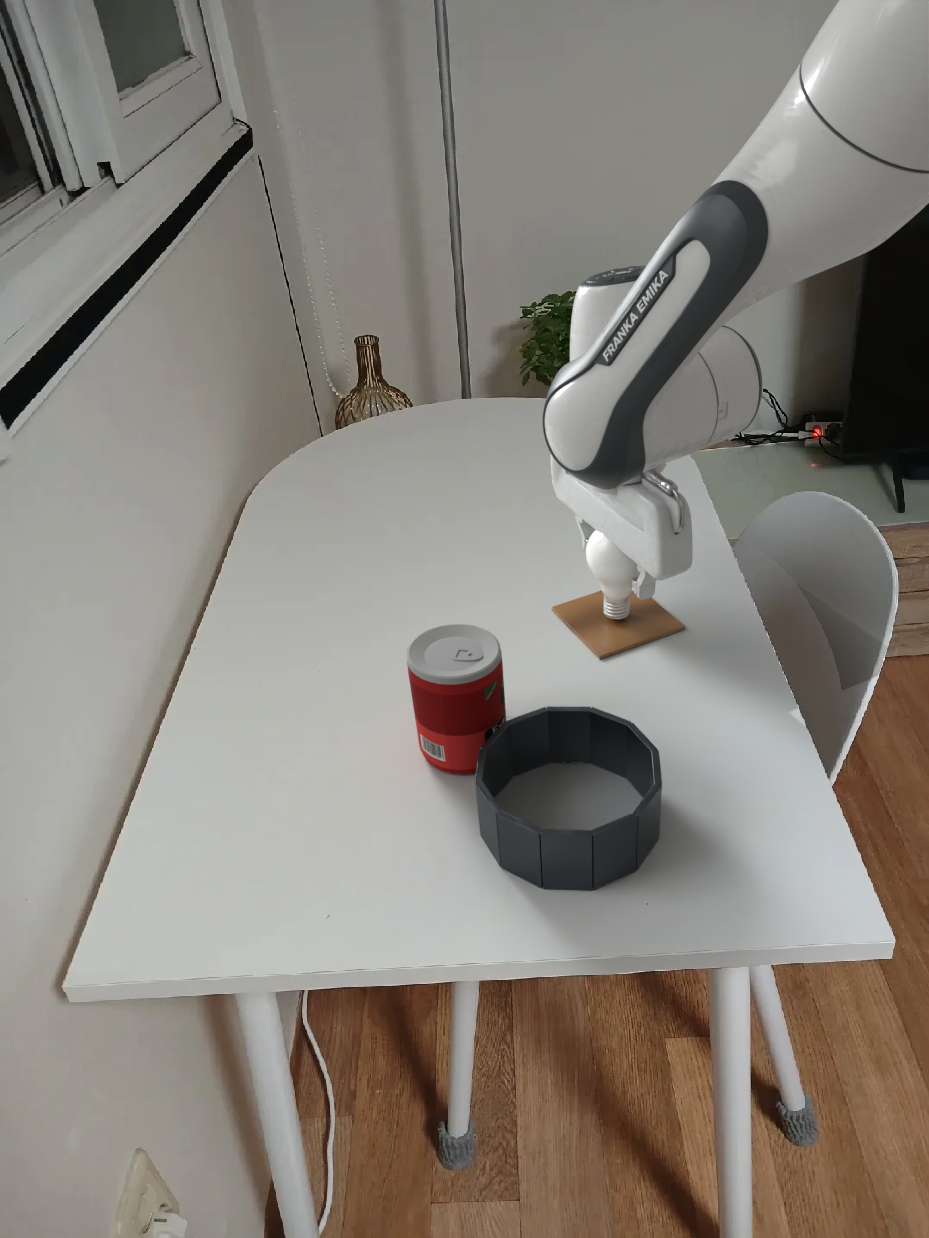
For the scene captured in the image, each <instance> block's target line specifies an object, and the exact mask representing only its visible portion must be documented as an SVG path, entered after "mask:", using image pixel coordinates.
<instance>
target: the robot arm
mask: <svg viewBox="0 0 929 1238" xmlns="http://www.w3.org/2000/svg"><path fill="white" fill-rule="evenodd" d="M927 205H929V0H838V1H837V3H836V4H835V6H834V7H833V9H832V10H831V12H830V13H829V15H828V17H827V18H826V19H825V21H824V22H823V24H822V25H821V27H820V29H819V30H818V32H817V34H816V35H815V37H814V38H813V40H812V42H811V44H810V45H809V47H808V48H807V50H806V51H805V54H804V56H803V57H802V59H801V61H800V62H799V64H798V66H797V68H796V69H795V71H794V72H793V74H792V75H791V76H790V79H789V81H788V82H787V84H786V85H785V86H784V88H783V89H782V91H781V93H780V94H779V96H778V98H777V99H776V100H775V102H774V103H773V104H772V106H771V107H770V109H769V110H768V112H767V113H766V115H765V116H764V117H763V118H762V120H761V121H760V123H759V125H758V126H757V127H756V129H754V131H753V133H752V134H751V135H750V137H749V138H748V139H747V141H746V142H745V143H744V145H743V146H742V148H740V150H739V151H738V152H737V154H736V155H735V156H734V158H732V160H731V161H730V162H729V163H728V164H727V166H726V167H725V168H724V169H723V171H722V172H721V173H720V174H719V175H718V176H717V177H716V178H715V180H714V181H713V182H712V183H711V184H710V185H709V186H708V188H706V190H705V191H704V192H703V193H702V194H701V195H700V196H699V197H698V199H697V200H696V201H695V202H694V203H693V204H692V205H691V207H689V209H688V210H687V211H686V213H685V214H684V215H683V216H682V217H681V218H680V219H679V220H678V221H677V222H676V224H675V226H673V228H672V229H671V230H670V232H669V233H668V235H667V236H666V237H665V239H664V240H663V242H662V243H661V244H660V246H659V247H658V248H657V249H656V251H655V253H654V254H653V256H652V257H651V258H650V260H649V261H648V263H647V264H646V265H632V266H627V267H621V268H615V269H614V268H613V269H611V270H606V271H602V272H600V273H595V274H593V275H592V276H589V277H587V278H586V279H585V280H584V281H583V282H581V283H580V284H579V285H578V287H577V290H576V293H575V296H574V300H573V304H572V312H571V319H570V331H569V362H567V363H566V364H564V365H562V366H561V368H560V369H559V370H558V371H557V372H556V374H555V376H554V378H553V380H552V382H551V384H550V387H549V389H548V391H547V395H546V398H545V401H544V407H543V411H542V432H543V437H544V440H545V443H546V446H547V449H548V451H549V453H550V474H551V483H552V488H553V490H554V493H555V495H556V498H557V500H558V501H560V502H561V503H562V504H564V505H565V506H566V507H567V508H569V509H570V510H571V511H572V512H573V513H574V514H575V521H576V524H577V527H578V529H579V533H580V536H581V541H582V543H581V544H582V545H581V546H582V547H581V548H582V550H583V551H584V552H585V553H586V546H587V543H588V540H589V538H590V536H591V535H592V533H593V532H594V531H595V530H596V531H599V532H601V533H602V534H603V535H604V536H605V537H606V538H607V539H608V540H609V541H610V542H611V543H612V544H613V545H614V546H616V547H617V548H618V549H619V550H620V551H622V552H623V553H624V554H625V555H627V556H628V557H629V558H630V559H631V560H633V561H634V562H635V563H636V564H637V570H638V571H639V572H641V573H640V575H639V577H636V578H633V579H632V582H631V585H632V588H631V591H632V593H633V594H635V595H636V596H637V597H638V598H639V599H640V600H644V599H647V598H650V597H651V598H653V597H654V595H655V593H656V582H657V581H663V580H667V579H671V578H673V577H676V576H679V575H682V574H684V573H686V572H687V571H688V570H689V569H690V568H691V566H692V564H693V555H694V552H693V544H694V543H693V525H692V513H691V510H690V509H691V508H690V506H689V502H688V501H687V499H686V498H685V497H684V495H682V494H681V493H680V492H679V491H678V490H679V486H678V484H676V483H675V482H674V481H673V480H671V479H669V478H667V477H665V476H664V475H663V474H662V472H663V471H664V470H665V469H666V466H667V464H668V463H671V462H674V461H677V460H678V459H682V458H684V457H687V456H690V455H692V454H694V453H697V452H698V451H700V450H702V449H705V448H708V447H711V446H713V445H716V444H718V443H721V442H724V441H725V440H728V439H730V438H732V437H734V436H736V435H738V434H740V433H741V432H744V431H745V430H747V429H748V428H749V427H750V426H751V424H752V423H753V421H754V419H755V418H756V416H757V414H758V412H759V408H760V405H761V401H762V395H763V374H762V369H761V363H760V361H759V358H758V356H757V354H756V352H755V350H754V349H753V346H752V345H751V344H750V342H749V341H748V340H747V339H746V338H745V337H744V336H743V335H742V334H740V333H739V332H738V331H736V330H735V329H733V328H731V327H729V326H727V325H725V324H726V323H728V322H729V321H731V319H733V318H734V317H735V316H737V315H739V314H740V313H741V312H743V311H744V310H746V309H748V308H749V307H751V306H752V305H754V304H756V303H758V302H760V301H762V300H763V299H765V298H767V297H769V296H771V295H773V294H775V293H777V292H779V291H781V290H783V289H785V288H787V287H790V286H792V285H795V284H797V283H799V282H801V281H804V280H806V279H808V278H811V277H813V276H815V275H818V274H820V273H822V272H825V271H827V270H829V269H832V268H834V267H836V266H839V265H841V264H845V263H846V262H848V261H851V260H853V259H855V258H857V257H860V256H862V255H864V254H866V253H868V252H870V251H872V250H874V249H875V248H877V247H879V246H880V245H881V244H883V243H885V242H886V241H887V240H888V239H890V238H891V237H892V236H893V235H894V234H895V233H897V232H898V231H899V230H900V229H902V227H904V226H905V225H906V224H908V223H909V222H910V221H911V220H912V219H913V218H914V217H915V216H917V214H919V213H920V212H921V211H922V210H923V209H924V208H925V207H926V206H927Z"/></svg>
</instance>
